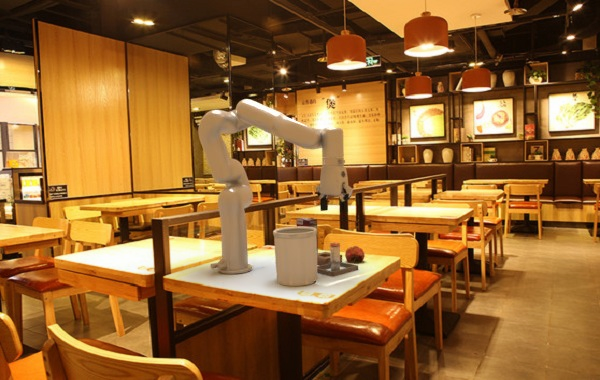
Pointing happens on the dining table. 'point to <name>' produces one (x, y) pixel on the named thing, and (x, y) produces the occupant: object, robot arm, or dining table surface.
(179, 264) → the dining table surface
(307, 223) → the supplement box
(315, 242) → the utensil holder
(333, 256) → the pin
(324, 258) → the pin block
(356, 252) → the pomegranate
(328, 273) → the tray
